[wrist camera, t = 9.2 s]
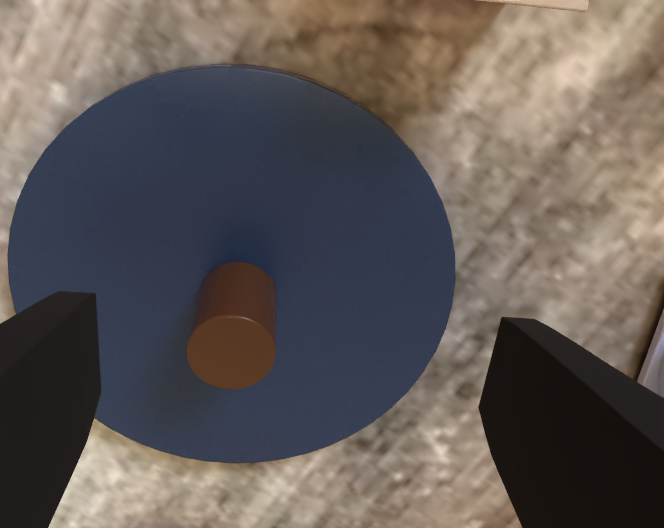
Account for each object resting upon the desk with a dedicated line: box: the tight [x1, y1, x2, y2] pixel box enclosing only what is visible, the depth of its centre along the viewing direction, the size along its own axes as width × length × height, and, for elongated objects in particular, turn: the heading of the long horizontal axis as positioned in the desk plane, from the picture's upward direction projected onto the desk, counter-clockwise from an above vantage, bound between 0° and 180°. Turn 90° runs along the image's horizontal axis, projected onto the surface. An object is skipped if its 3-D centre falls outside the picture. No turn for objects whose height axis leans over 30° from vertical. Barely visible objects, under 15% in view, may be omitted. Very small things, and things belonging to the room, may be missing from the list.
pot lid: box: [8, 64, 455, 463], centre depth 19 cm, size 14×14×4 cm
